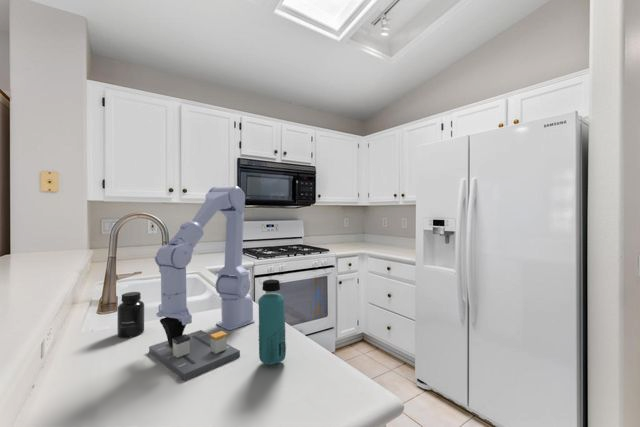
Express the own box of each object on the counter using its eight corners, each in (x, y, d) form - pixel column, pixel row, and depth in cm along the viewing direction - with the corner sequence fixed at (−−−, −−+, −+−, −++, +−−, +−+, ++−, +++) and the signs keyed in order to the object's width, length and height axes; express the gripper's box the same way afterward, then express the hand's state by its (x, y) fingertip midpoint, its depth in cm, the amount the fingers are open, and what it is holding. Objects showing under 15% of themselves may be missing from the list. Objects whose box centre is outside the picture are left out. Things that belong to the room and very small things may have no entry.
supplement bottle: (123, 340, 85) (122, 298, 85) (113, 334, 89) (113, 294, 89) (148, 332, 91) (148, 293, 91) (138, 327, 95) (138, 289, 95)
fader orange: (221, 346, 77) (221, 330, 77) (227, 349, 76) (227, 333, 76) (210, 350, 75) (209, 334, 75) (215, 354, 73) (215, 337, 73)
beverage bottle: (281, 372, 68) (280, 284, 68) (253, 369, 69) (252, 283, 69) (289, 358, 74) (289, 277, 74) (264, 356, 76) (263, 276, 75)
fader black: (185, 349, 76) (185, 334, 76) (190, 353, 74) (190, 336, 74) (172, 354, 73) (172, 338, 73) (176, 358, 72) (176, 341, 71)
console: (200, 335, 89) (200, 329, 89) (239, 356, 75) (239, 350, 75) (149, 352, 78) (149, 346, 78) (184, 380, 65) (184, 373, 65)
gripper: (145, 290, 78) (146, 342, 78) (169, 301, 68) (170, 361, 68) (173, 285, 83) (174, 334, 83) (199, 294, 73) (200, 350, 74)
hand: (174, 345), depth 76 cm, fingers closed
